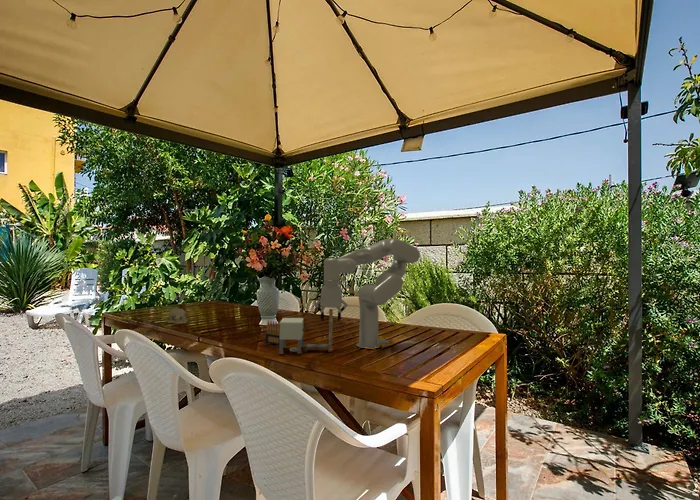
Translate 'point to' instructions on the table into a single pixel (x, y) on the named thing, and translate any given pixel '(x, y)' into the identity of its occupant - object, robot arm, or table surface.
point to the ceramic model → (177, 316)
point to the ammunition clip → (273, 333)
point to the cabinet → (291, 332)
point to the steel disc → (293, 349)
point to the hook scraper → (329, 336)
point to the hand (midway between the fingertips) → (330, 320)
